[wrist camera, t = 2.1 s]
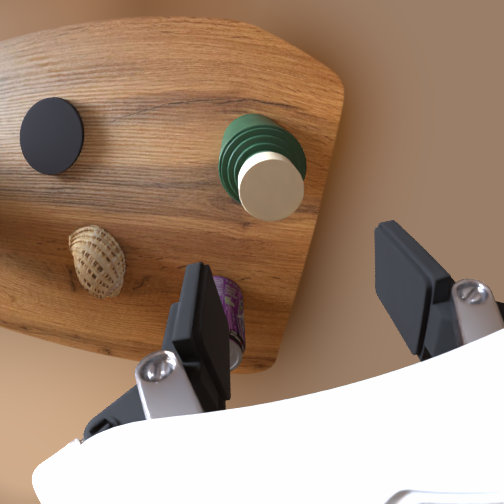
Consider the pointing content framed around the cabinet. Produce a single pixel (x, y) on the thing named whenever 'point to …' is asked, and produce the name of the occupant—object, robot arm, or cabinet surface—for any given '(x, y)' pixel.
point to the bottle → (255, 148)
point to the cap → (270, 186)
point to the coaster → (51, 135)
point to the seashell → (98, 261)
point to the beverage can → (233, 317)
